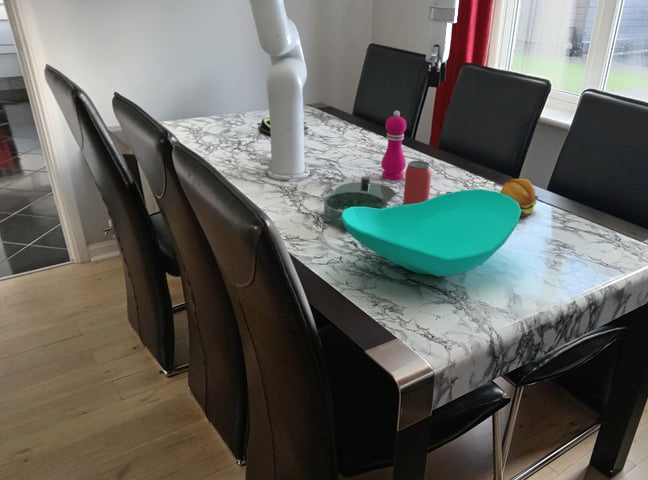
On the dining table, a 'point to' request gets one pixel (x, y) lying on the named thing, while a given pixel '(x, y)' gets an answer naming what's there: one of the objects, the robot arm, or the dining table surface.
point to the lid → (368, 188)
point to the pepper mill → (394, 148)
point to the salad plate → (265, 127)
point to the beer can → (417, 182)
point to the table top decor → (437, 230)
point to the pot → (349, 204)
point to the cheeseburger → (521, 194)
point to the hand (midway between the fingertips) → (436, 84)
